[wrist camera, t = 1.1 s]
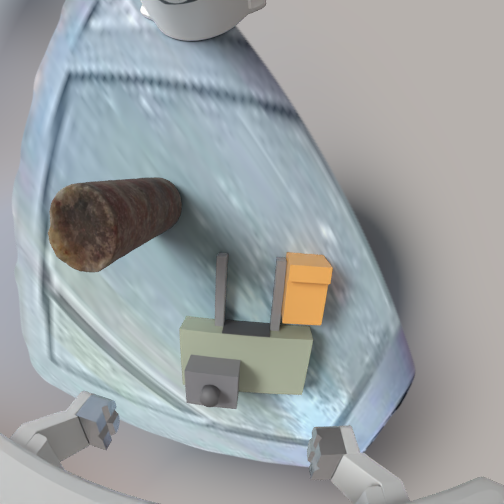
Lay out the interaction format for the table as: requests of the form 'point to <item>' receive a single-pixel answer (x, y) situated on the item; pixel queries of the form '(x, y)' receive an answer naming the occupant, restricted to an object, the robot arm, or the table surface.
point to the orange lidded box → (305, 288)
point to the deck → (242, 350)
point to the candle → (110, 219)
